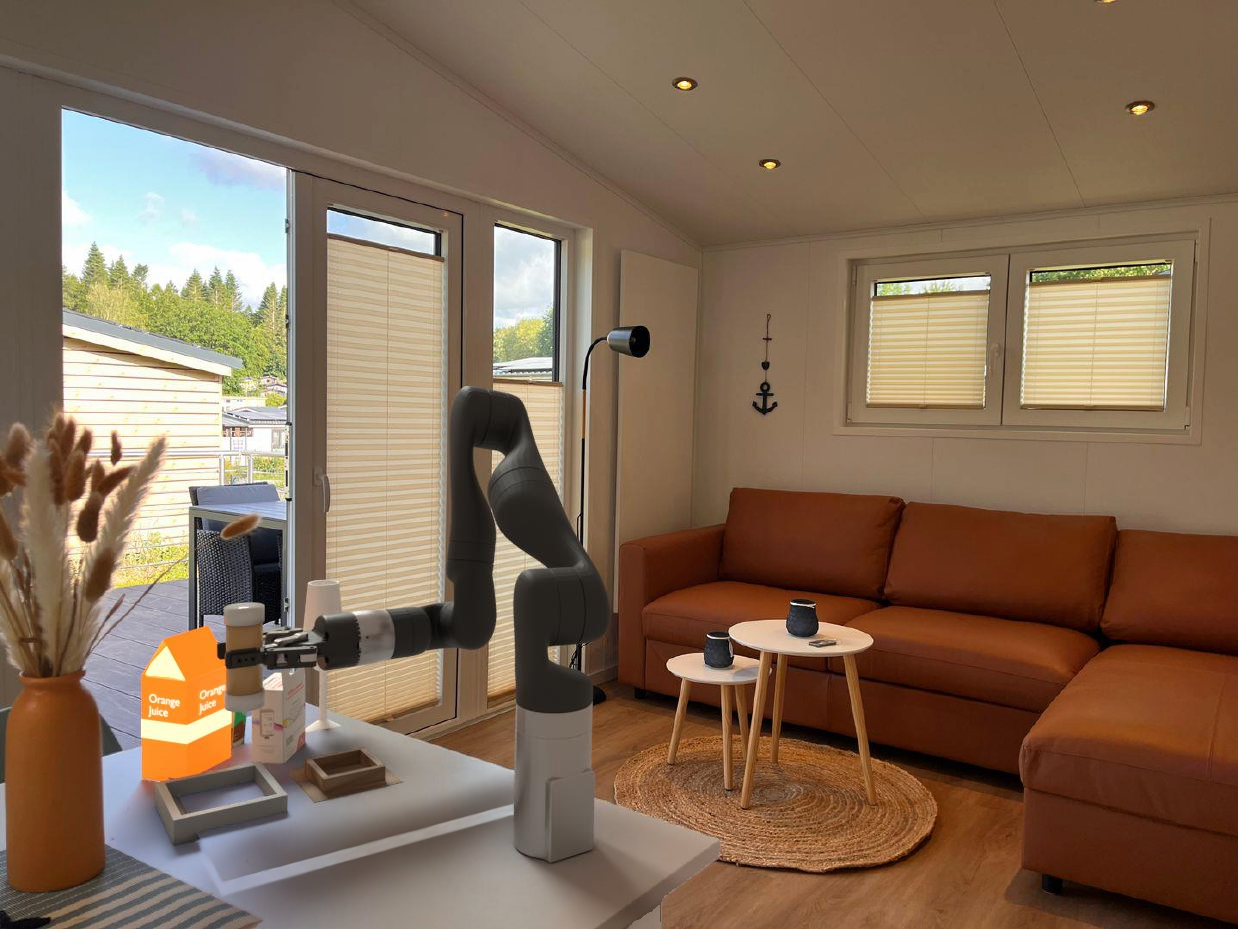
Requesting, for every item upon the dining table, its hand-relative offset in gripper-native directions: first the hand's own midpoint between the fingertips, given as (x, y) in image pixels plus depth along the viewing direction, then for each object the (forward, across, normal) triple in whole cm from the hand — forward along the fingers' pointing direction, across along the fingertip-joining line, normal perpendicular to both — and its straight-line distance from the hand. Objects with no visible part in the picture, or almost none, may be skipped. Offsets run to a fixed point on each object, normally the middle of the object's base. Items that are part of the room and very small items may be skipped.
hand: (221, 655), depth 114 cm
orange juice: (+2, -15, +20) cm, 26 cm away
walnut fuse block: (-16, 0, +20) cm, 25 cm away
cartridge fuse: (-3, 0, +7) cm, 8 cm away
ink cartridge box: (-10, -14, +20) cm, 27 cm away
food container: (-5, -24, +20) cm, 32 cm away
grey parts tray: (0, +1, +20) cm, 20 cm away
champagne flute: (-19, -22, +20) cm, 35 cm away
